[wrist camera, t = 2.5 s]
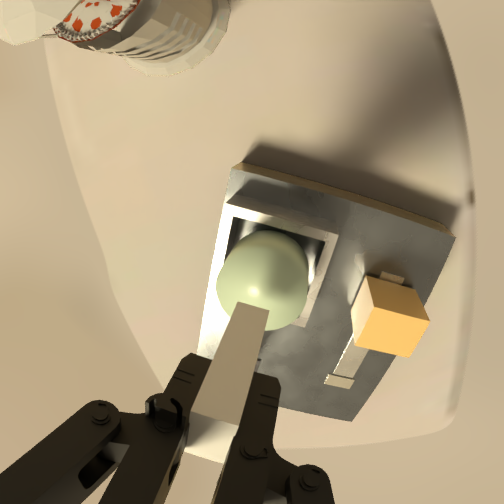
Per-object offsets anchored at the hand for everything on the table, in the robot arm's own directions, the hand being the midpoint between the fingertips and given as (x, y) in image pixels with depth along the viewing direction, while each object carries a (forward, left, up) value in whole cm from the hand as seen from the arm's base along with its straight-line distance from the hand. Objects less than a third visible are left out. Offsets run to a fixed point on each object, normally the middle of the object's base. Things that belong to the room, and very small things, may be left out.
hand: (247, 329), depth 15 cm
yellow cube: (+1, +9, -8) cm, 12 cm away
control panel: (+5, +4, -11) cm, 13 cm away
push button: (0, 0, -6) cm, 6 cm away
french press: (-15, -13, -11) cm, 23 cm away
